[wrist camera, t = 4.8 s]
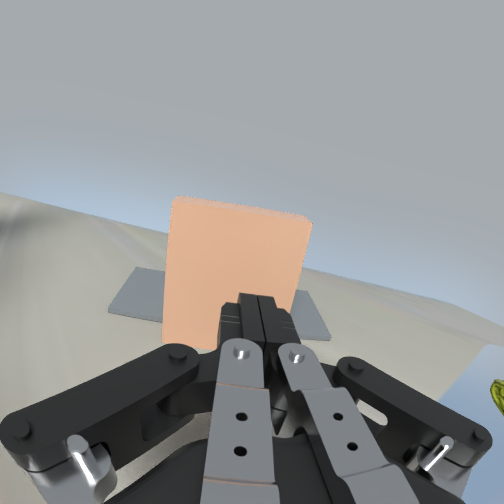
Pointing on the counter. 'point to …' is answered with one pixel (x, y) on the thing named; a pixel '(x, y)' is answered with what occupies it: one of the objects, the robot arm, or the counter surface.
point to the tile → (226, 263)
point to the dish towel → (498, 394)
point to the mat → (152, 300)
